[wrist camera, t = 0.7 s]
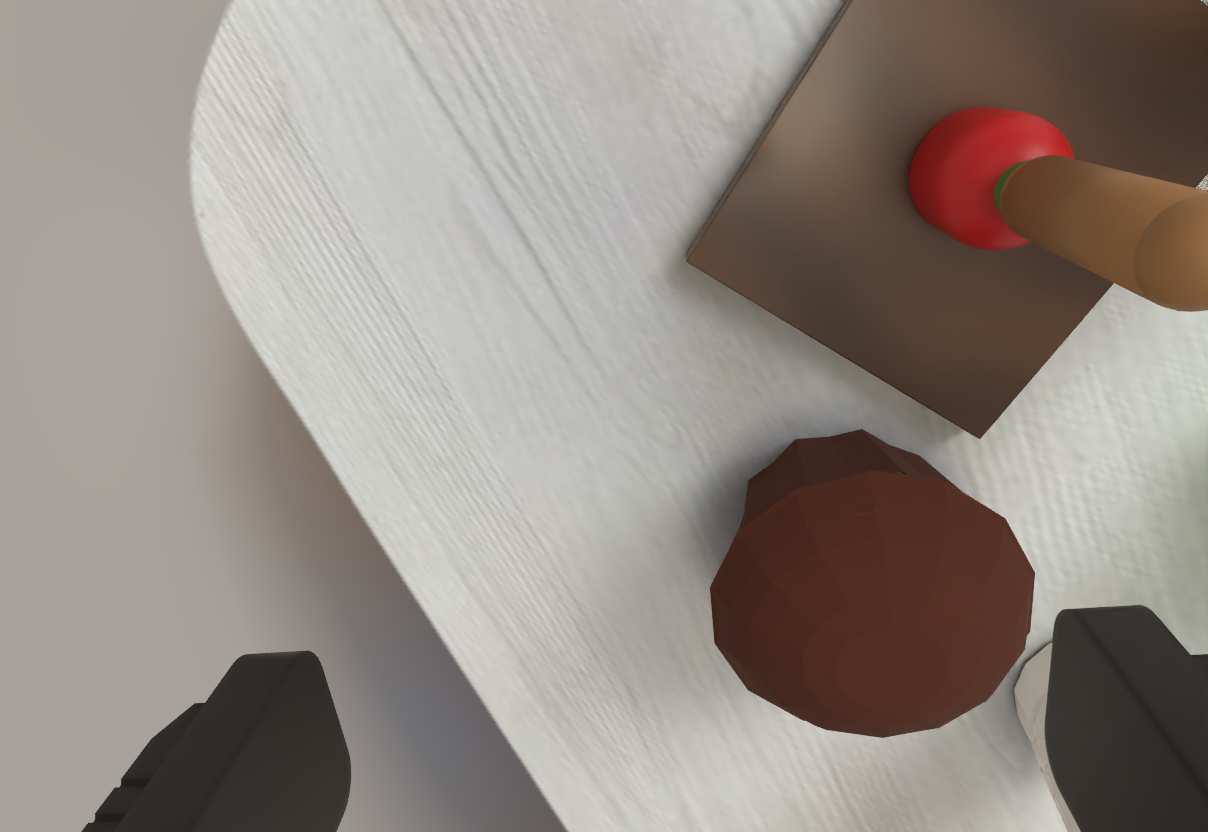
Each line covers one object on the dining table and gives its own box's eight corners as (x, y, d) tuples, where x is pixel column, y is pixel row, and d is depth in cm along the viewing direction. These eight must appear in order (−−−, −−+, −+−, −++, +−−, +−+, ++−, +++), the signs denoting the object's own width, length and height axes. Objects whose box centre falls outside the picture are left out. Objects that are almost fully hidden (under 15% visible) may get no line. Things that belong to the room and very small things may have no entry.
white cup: (1136, 764, 41) (1269, 964, 32) (976, 736, 42) (1064, 928, 32) (1206, 633, 38) (1376, 814, 29) (1034, 603, 38) (1149, 774, 29)
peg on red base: (962, 82, 29) (1232, 99, 15) (1063, 149, 30) (1410, 226, 16) (883, 193, 31) (1062, 302, 17) (980, 256, 32) (1229, 411, 18)
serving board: (950, -165, 28) (961, -175, 27) (1273, 70, 30) (1297, 70, 29) (685, 254, 33) (685, 261, 32) (970, 428, 35) (980, 439, 34)
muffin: (1009, 424, 35) (1129, 552, 26) (937, 641, 40) (1019, 817, 30) (724, 386, 35) (744, 500, 26) (684, 606, 40) (689, 770, 31)
